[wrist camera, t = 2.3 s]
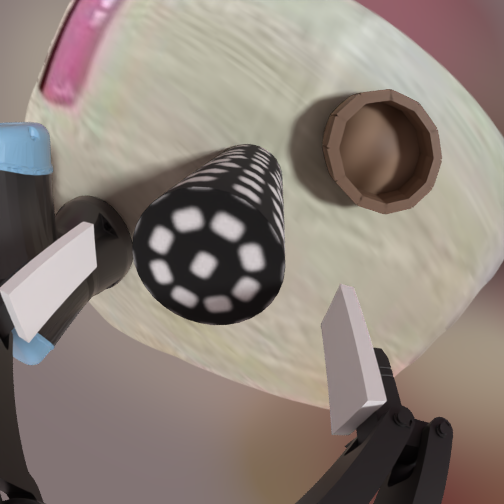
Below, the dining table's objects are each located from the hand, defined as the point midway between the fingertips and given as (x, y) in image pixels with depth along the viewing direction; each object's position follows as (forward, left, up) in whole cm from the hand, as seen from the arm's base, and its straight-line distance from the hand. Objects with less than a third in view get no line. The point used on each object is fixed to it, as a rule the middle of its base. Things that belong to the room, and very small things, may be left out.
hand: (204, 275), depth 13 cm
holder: (+14, +8, -21) cm, 26 cm away
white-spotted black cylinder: (0, 0, -21) cm, 21 cm away
